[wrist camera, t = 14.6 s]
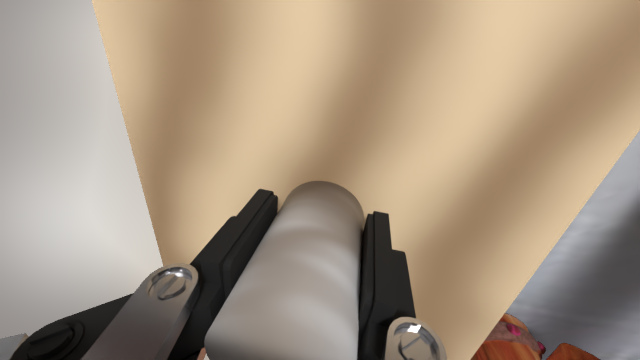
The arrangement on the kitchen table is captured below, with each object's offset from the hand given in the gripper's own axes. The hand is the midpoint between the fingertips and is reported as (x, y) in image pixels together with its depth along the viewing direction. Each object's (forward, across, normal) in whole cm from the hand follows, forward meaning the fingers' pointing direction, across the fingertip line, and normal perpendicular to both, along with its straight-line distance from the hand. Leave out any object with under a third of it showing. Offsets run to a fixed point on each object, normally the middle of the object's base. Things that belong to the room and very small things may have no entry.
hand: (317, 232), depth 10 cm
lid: (+2, 0, 0) cm, 2 cm away
